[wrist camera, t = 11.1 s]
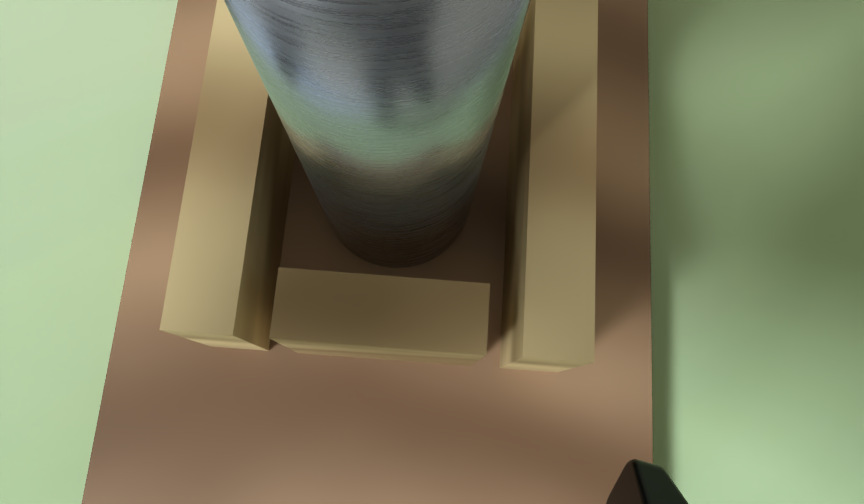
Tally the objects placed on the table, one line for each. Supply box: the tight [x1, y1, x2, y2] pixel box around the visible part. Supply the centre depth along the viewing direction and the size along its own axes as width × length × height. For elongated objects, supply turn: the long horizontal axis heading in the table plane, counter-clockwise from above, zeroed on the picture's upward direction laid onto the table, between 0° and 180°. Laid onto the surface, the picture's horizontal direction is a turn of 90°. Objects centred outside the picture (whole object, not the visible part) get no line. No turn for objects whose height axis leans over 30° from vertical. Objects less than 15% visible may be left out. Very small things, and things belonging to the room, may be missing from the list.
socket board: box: [82, 0, 653, 504], centre depth 17 cm, size 18×14×4 cm
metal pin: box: [224, 0, 530, 268], centre depth 11 cm, size 4×4×13 cm
